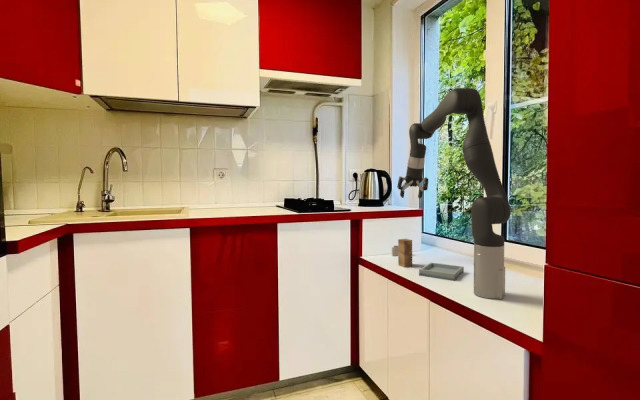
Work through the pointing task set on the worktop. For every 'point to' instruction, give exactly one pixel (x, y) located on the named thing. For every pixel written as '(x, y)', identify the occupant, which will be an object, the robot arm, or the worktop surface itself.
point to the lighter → (395, 251)
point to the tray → (441, 271)
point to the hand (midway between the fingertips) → (410, 197)
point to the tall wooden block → (405, 252)
